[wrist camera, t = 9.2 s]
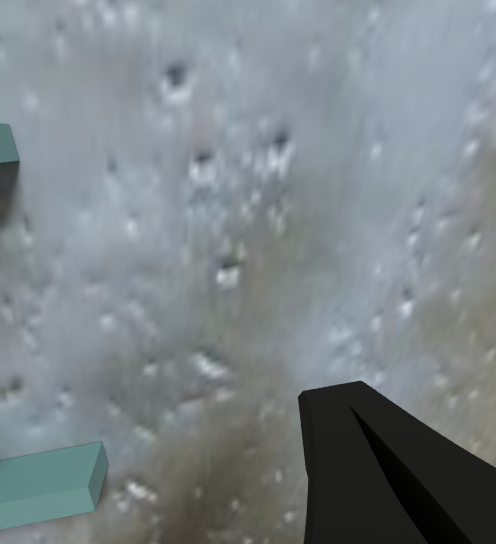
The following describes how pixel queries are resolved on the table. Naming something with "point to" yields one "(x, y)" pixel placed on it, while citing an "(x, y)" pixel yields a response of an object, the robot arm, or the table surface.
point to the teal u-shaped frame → (48, 460)
